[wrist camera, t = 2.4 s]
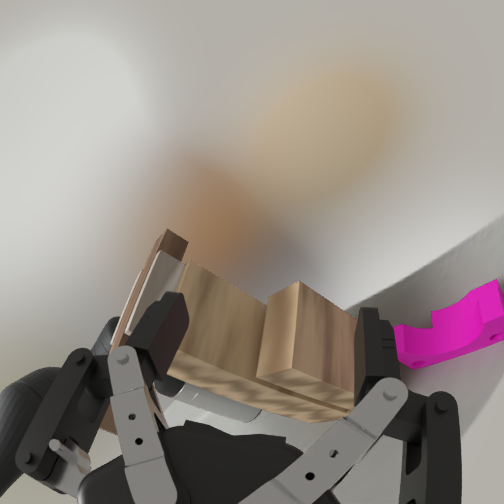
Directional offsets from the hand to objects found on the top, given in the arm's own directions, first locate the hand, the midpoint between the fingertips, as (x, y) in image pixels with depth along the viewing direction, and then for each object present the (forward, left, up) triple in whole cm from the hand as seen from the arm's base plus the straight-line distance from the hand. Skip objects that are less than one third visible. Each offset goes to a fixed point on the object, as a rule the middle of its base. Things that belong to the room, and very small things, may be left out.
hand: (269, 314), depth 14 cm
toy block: (0, +11, -33) cm, 35 cm away
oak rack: (-18, +8, -32) cm, 38 cm away
